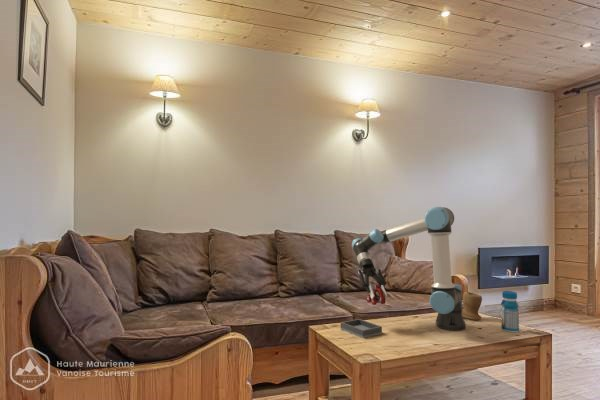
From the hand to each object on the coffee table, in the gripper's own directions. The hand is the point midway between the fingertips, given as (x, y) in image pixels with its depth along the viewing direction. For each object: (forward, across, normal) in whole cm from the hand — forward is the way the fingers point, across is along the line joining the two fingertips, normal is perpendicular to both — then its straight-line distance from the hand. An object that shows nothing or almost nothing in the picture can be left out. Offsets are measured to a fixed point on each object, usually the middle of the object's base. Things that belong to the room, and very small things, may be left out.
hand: (379, 297), depth 199 cm
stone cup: (+8, -62, -16) cm, 65 cm away
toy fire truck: (+1, 0, -6) cm, 6 cm away
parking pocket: (+12, +11, -12) cm, 20 cm away
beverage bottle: (+27, -66, +3) cm, 71 cm away
